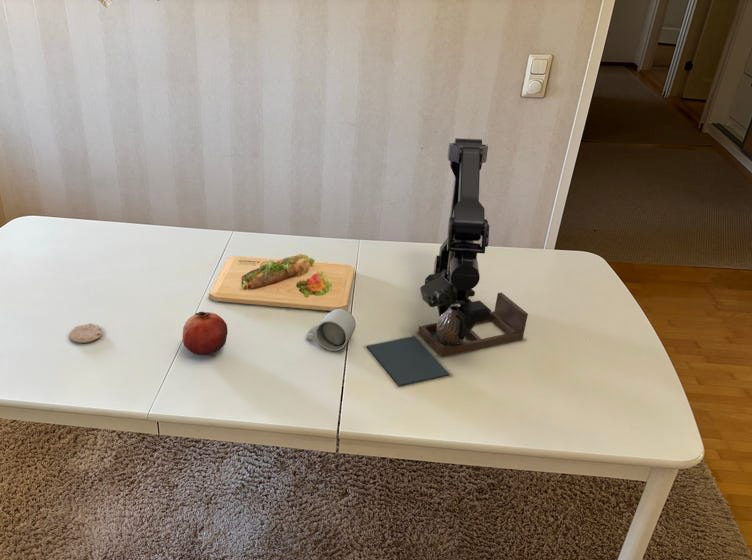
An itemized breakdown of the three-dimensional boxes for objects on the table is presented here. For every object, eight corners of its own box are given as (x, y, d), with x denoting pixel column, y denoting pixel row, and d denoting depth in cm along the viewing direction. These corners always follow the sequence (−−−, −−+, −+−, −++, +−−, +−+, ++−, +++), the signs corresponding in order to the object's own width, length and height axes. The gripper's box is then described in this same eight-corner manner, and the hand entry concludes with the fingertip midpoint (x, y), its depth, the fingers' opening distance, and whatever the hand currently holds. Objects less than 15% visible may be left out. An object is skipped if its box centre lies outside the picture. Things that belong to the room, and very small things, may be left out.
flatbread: (100, 343, 168) (99, 339, 168) (67, 345, 168) (66, 341, 167) (104, 325, 175) (103, 321, 174) (72, 326, 174) (72, 323, 174)
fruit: (192, 368, 160) (189, 329, 154) (176, 346, 167) (172, 308, 161) (236, 355, 164) (234, 317, 158) (218, 334, 171) (216, 297, 165)
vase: (465, 350, 164) (471, 317, 160) (434, 347, 166) (439, 314, 161) (465, 334, 170) (470, 301, 165) (435, 331, 171) (439, 298, 166)
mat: (366, 347, 166) (366, 345, 166) (413, 337, 169) (414, 336, 169) (399, 386, 153) (399, 384, 153) (449, 375, 157) (449, 373, 156)
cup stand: (418, 333, 171) (421, 307, 167) (496, 317, 176) (501, 292, 172) (441, 357, 162) (445, 330, 158) (522, 339, 168) (528, 313, 164)
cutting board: (354, 270, 197) (356, 245, 193) (345, 314, 178) (347, 287, 174) (229, 260, 203) (228, 236, 199) (207, 302, 184) (205, 275, 180)
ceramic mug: (356, 336, 170) (358, 307, 165) (346, 354, 163) (347, 325, 159) (314, 328, 173) (314, 299, 169) (302, 345, 167) (302, 316, 163)
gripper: (407, 255, 163) (401, 315, 171) (450, 294, 148) (441, 357, 157) (451, 248, 165) (442, 307, 174) (497, 285, 151) (486, 348, 160)
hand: (451, 329), depth 166 cm, fingers open, 8 cm apart
